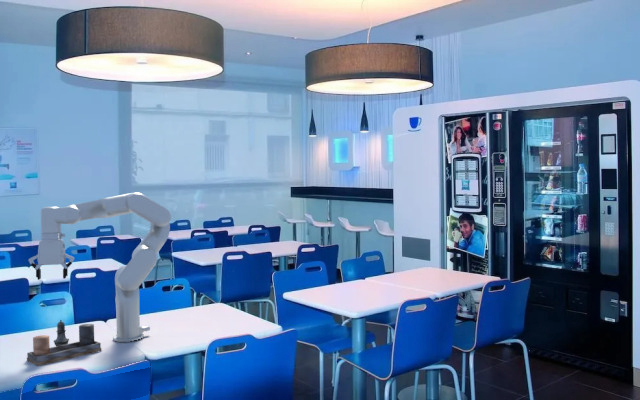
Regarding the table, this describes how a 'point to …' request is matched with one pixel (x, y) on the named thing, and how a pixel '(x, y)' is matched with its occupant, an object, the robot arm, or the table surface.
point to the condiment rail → (63, 347)
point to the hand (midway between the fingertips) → (52, 278)
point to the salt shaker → (61, 335)
